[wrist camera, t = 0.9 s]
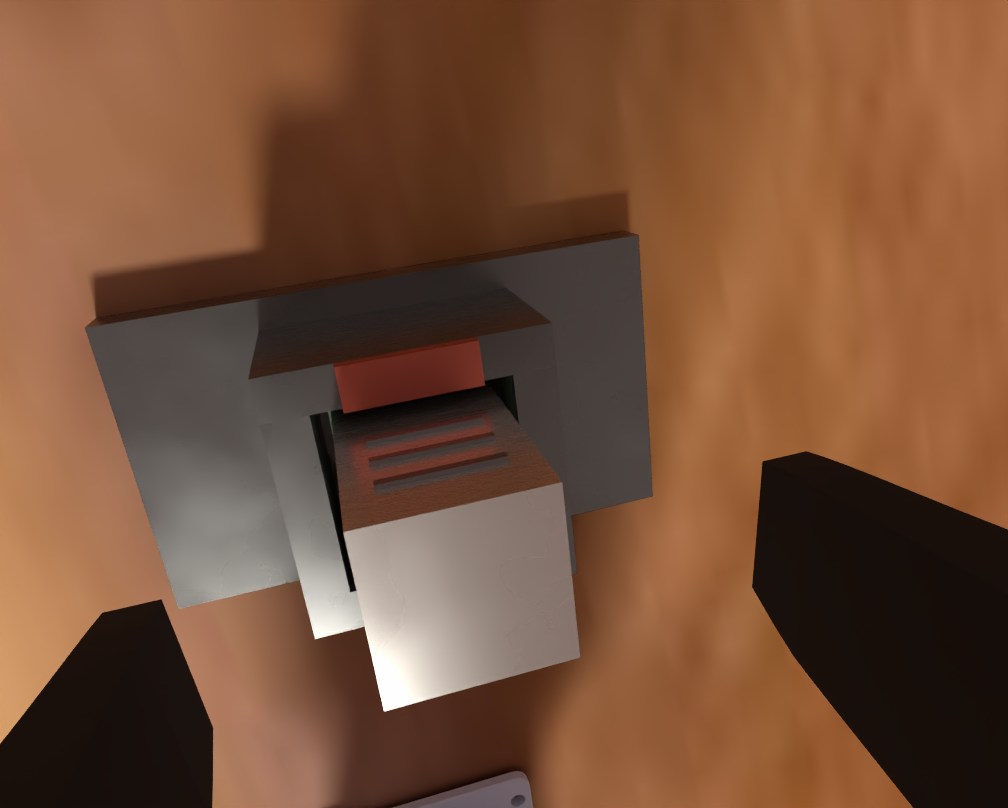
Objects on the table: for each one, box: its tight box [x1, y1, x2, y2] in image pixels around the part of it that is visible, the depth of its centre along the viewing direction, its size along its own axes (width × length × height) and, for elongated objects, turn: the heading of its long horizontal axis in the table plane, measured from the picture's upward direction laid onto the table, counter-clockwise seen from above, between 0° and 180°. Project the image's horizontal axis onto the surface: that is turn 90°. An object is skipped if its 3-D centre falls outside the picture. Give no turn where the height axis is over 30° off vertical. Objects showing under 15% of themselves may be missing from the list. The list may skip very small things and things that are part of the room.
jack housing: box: [85, 231, 653, 639], centre depth 19 cm, size 8×14×5 cm, turn 97°
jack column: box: [328, 380, 580, 712], centre depth 17 cm, size 4×4×8 cm
